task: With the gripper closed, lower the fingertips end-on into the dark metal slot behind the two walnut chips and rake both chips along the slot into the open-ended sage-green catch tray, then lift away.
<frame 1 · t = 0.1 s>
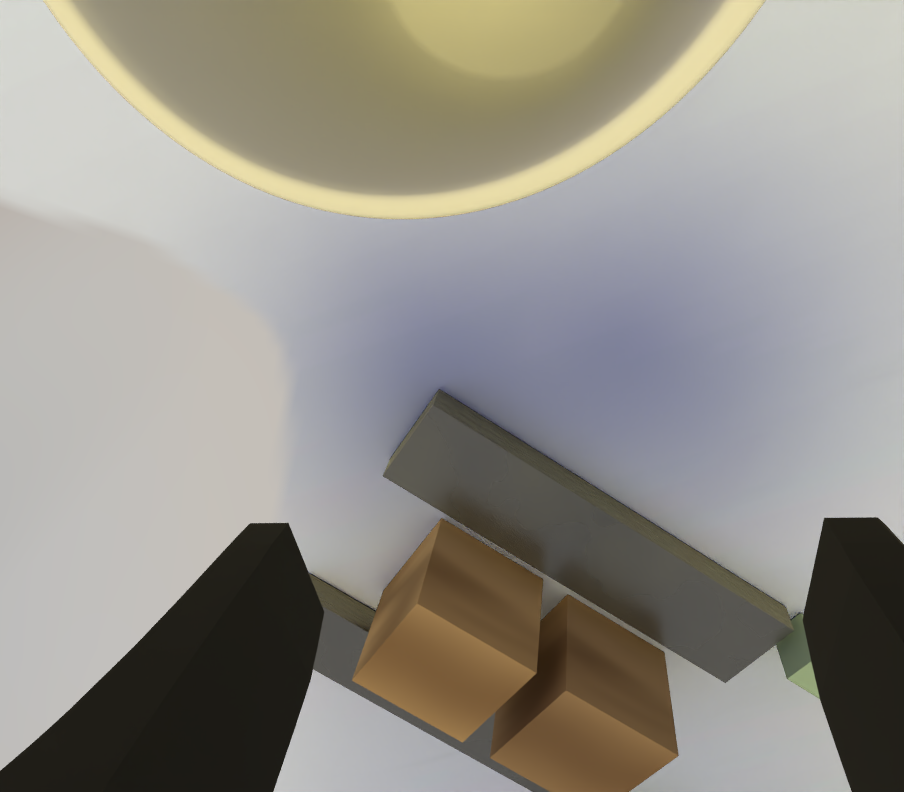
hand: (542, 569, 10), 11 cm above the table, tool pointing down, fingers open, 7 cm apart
slot rails: (509, 615, 24), on the table
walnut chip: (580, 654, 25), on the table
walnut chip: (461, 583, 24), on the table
catch tray: (793, 782, 26), on the table
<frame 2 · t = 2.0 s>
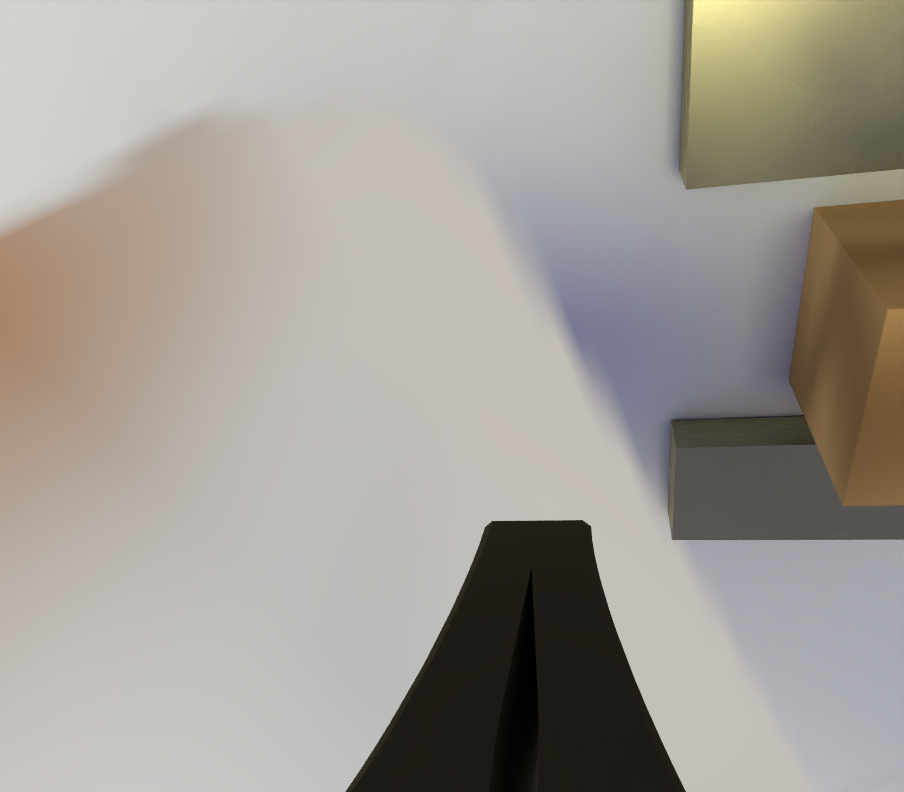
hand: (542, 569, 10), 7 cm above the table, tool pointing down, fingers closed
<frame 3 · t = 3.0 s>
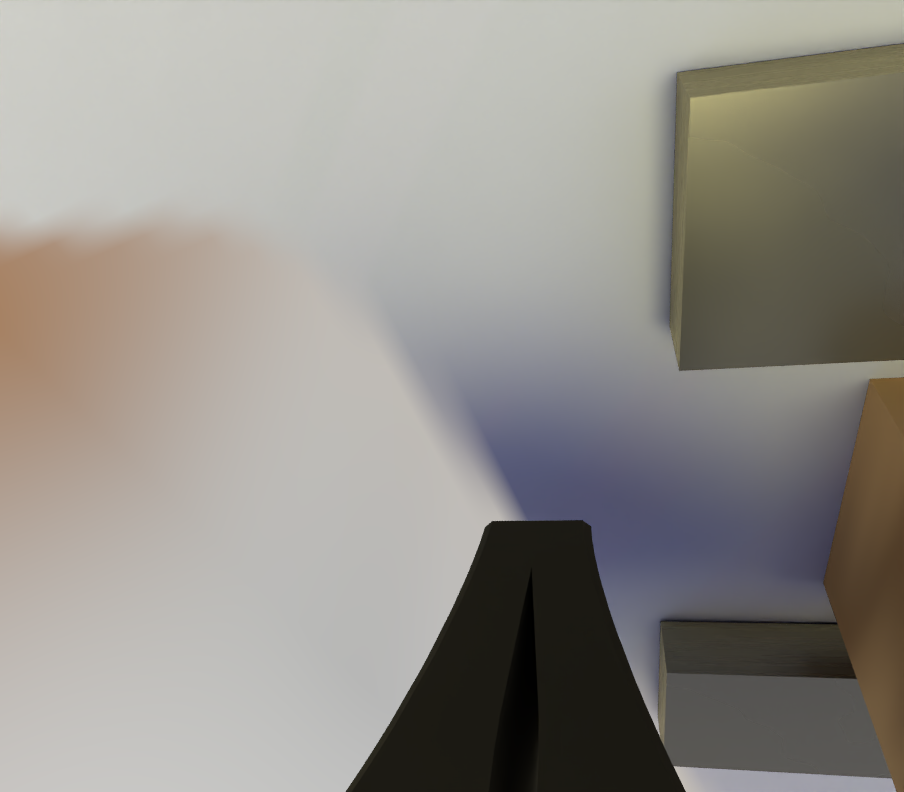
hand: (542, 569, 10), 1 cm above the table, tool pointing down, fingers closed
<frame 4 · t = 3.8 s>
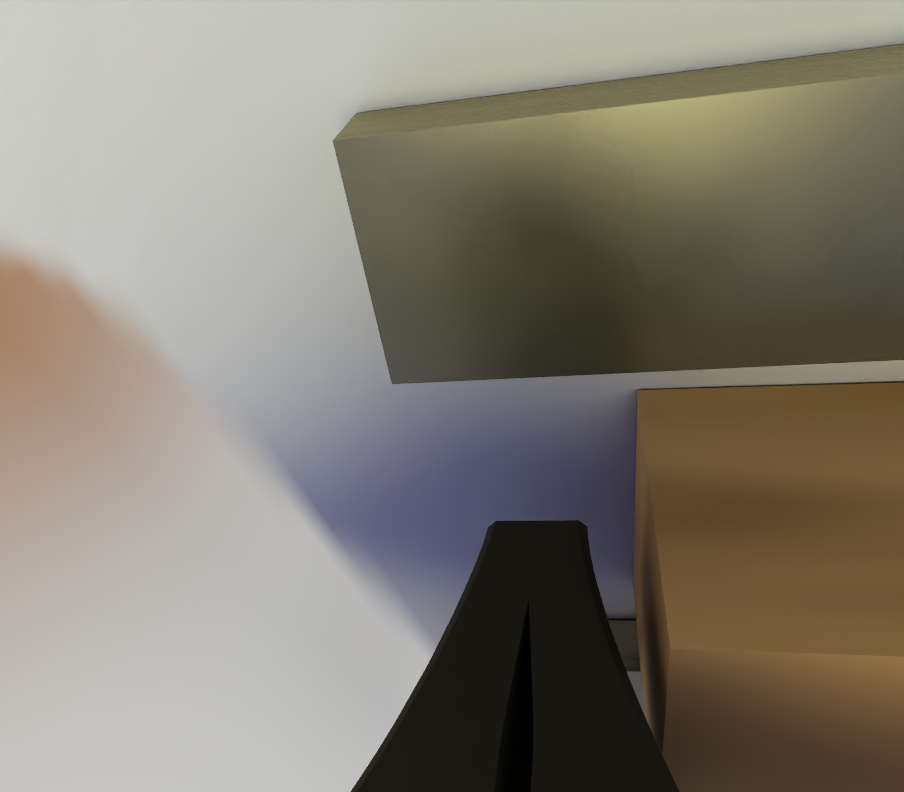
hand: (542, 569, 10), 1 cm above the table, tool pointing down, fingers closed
slot rails: (887, 494, 10), on the table
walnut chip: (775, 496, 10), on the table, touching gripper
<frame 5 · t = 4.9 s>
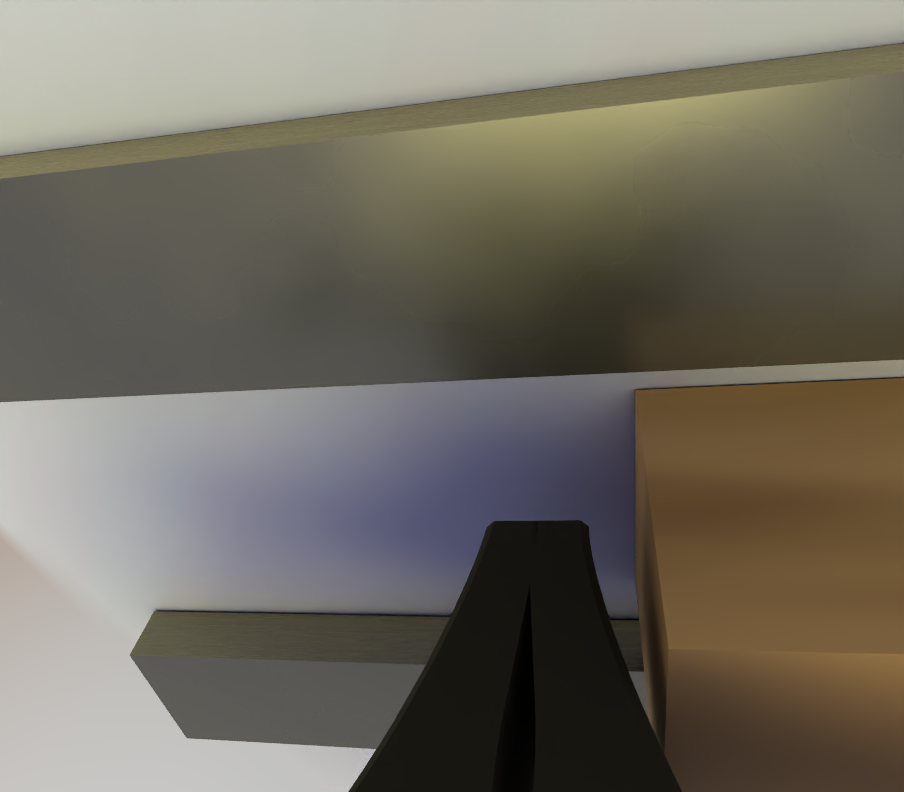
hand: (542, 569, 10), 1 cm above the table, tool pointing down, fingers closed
slot rails: (446, 500, 11), on the table
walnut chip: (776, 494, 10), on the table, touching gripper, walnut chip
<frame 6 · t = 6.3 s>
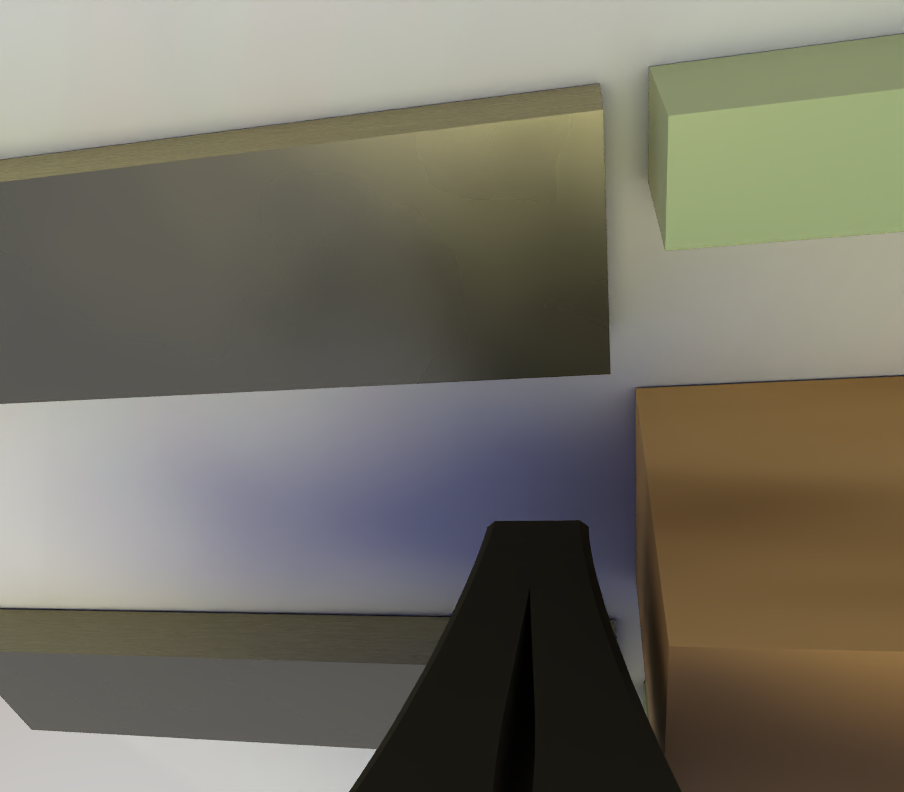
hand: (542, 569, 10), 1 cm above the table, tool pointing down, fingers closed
slot rails: (222, 504, 12), on the table
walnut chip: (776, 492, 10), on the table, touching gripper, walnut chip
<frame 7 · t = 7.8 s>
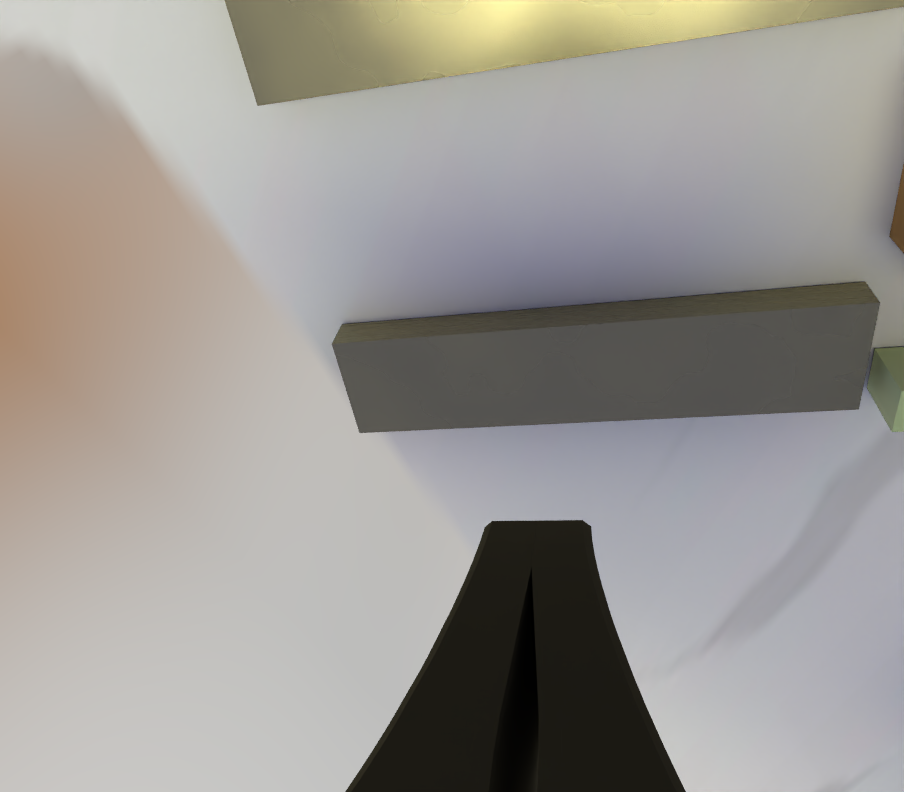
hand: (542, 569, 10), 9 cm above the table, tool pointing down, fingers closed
slot rails: (575, 189, 16), on the table
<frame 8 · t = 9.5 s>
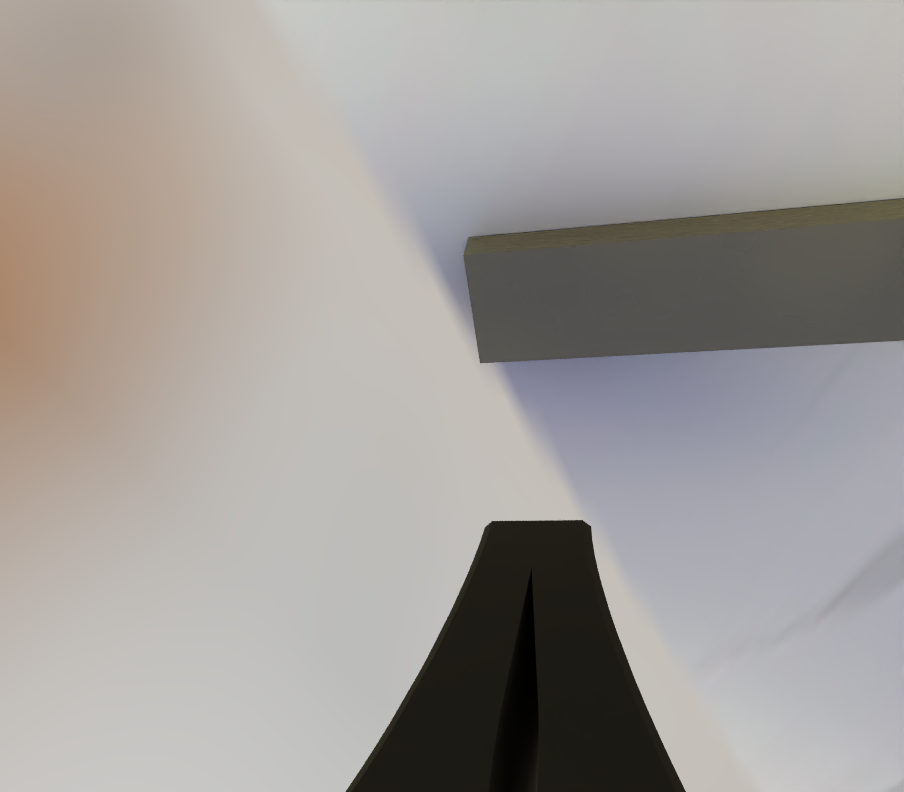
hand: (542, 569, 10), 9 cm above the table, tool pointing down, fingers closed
slot rails: (766, 69, 14), on the table
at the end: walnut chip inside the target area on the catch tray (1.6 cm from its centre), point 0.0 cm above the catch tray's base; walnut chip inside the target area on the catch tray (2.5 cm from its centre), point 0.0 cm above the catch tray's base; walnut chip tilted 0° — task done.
